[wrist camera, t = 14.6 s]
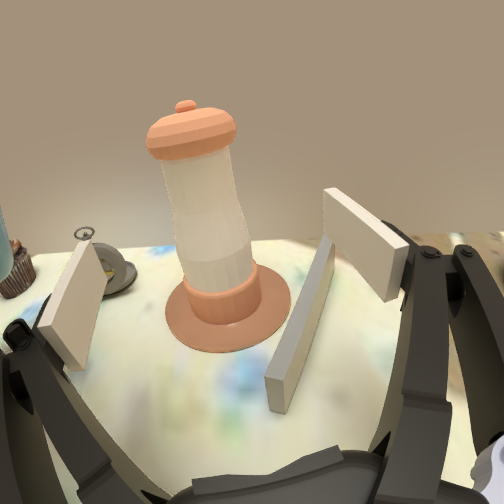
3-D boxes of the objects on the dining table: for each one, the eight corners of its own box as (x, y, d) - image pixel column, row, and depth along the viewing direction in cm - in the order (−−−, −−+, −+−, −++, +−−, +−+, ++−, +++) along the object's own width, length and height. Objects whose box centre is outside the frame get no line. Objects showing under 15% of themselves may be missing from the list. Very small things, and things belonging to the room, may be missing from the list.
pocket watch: (124, 261, 39) (101, 199, 34) (153, 281, 34) (128, 208, 29) (79, 290, 34) (49, 227, 29) (101, 317, 29) (64, 243, 24)
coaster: (143, 330, 27) (141, 326, 27) (205, 260, 37) (203, 256, 36) (263, 368, 22) (262, 364, 22) (304, 274, 32) (304, 270, 31)
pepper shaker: (276, 297, 28) (253, 89, 18) (217, 337, 25) (158, 107, 14) (233, 268, 33) (201, 97, 23) (179, 299, 30) (126, 115, 20)
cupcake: (16, 305, 32) (-14, 251, 27) (-7, 299, 34) (-32, 252, 29) (48, 269, 40) (25, 219, 35) (22, 268, 42) (1, 224, 37)
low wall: (269, 410, 19) (263, 376, 16) (323, 269, 32) (324, 230, 30) (285, 414, 18) (283, 380, 16) (333, 270, 32) (335, 231, 29)
